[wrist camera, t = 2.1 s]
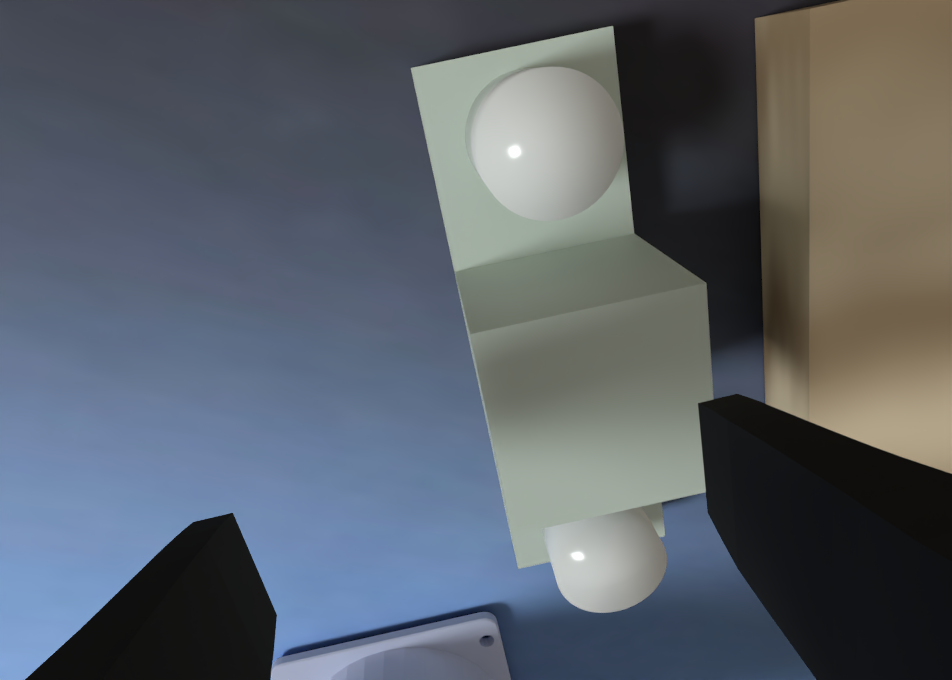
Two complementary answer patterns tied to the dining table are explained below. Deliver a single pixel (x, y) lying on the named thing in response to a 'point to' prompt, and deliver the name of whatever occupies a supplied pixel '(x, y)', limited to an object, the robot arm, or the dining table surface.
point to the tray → (568, 312)
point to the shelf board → (859, 220)
